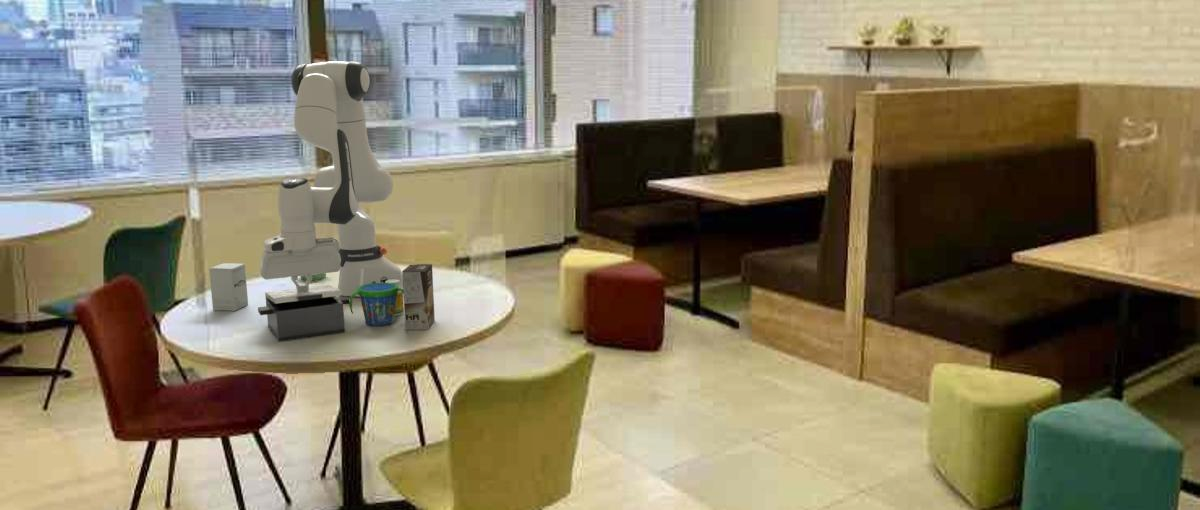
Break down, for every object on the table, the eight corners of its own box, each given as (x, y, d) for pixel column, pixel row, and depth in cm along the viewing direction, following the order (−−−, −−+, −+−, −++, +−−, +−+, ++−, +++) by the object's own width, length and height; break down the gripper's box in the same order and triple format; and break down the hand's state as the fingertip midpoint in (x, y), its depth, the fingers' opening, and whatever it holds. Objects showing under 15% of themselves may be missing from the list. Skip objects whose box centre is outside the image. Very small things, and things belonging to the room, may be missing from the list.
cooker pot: (341, 315, 276) (339, 288, 274) (356, 330, 261) (354, 301, 259) (256, 327, 265) (254, 298, 264) (266, 343, 251) (263, 313, 249)
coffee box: (428, 330, 260) (425, 271, 257) (404, 330, 261) (401, 271, 257) (435, 320, 269) (432, 263, 266) (412, 320, 270) (409, 263, 266)
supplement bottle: (382, 312, 278) (380, 280, 276) (401, 310, 280) (399, 277, 278) (387, 317, 273) (385, 284, 271) (406, 314, 276) (404, 281, 274)
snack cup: (408, 315, 275) (406, 280, 273) (409, 325, 265) (407, 289, 263) (350, 319, 271) (348, 284, 269) (350, 330, 261) (347, 293, 259)
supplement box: (235, 311, 282) (231, 268, 279) (212, 310, 283) (207, 268, 281) (249, 305, 289) (245, 263, 286) (226, 304, 290) (222, 262, 288)
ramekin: (323, 280, 318) (322, 267, 317) (295, 281, 318) (294, 268, 317) (330, 274, 327) (329, 261, 326) (304, 274, 327) (303, 262, 326)
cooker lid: (329, 289, 273) (328, 284, 272) (343, 296, 256) (343, 291, 256) (265, 296, 265) (265, 292, 265) (276, 304, 248) (276, 299, 248)
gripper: (336, 234, 264) (339, 284, 267) (256, 242, 255) (261, 293, 258) (341, 238, 259) (344, 289, 262) (260, 246, 250) (265, 299, 253)
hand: (302, 291), depth 260 cm, fingers closed
